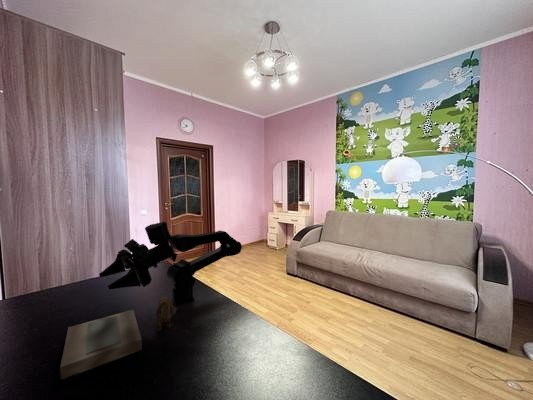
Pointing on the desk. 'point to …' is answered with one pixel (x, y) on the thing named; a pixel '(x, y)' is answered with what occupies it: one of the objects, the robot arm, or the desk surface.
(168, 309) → the lion figurine
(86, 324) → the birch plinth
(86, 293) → the desk surface
